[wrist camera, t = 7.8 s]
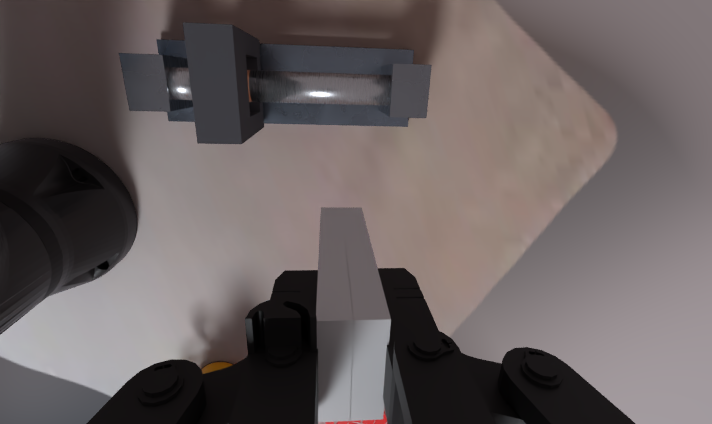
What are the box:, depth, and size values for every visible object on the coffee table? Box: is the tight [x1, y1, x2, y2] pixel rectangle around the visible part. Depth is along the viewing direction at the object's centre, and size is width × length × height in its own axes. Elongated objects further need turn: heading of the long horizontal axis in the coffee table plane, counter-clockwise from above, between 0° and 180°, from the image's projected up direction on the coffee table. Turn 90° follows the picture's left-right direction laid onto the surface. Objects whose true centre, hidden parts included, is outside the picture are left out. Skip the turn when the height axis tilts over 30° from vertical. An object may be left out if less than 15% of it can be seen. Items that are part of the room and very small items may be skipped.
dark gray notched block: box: [183, 23, 264, 144], centre depth 28 cm, size 3×8×10 cm, turn 178°
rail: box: [119, 39, 431, 127], centre depth 31 cm, size 23×7×7 cm, turn 88°
